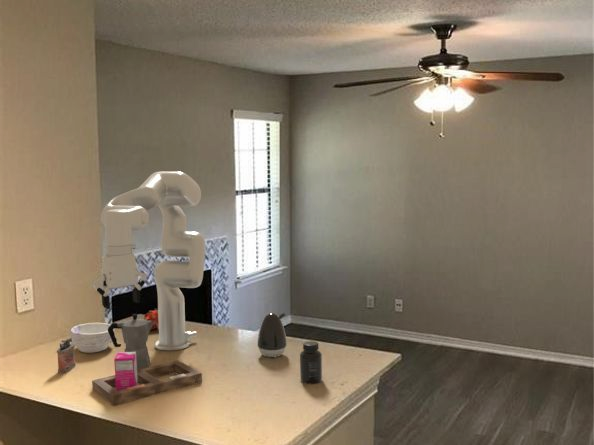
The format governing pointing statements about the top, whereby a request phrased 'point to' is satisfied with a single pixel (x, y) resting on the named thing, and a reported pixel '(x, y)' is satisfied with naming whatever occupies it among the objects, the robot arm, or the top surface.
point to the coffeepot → (134, 338)
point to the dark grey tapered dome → (272, 336)
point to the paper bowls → (91, 337)
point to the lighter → (66, 356)
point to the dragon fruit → (153, 318)
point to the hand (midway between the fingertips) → (121, 305)
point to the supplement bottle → (310, 363)
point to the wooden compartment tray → (148, 382)
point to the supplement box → (125, 370)
